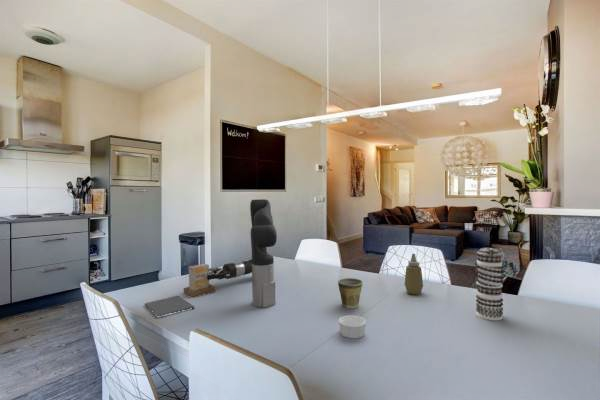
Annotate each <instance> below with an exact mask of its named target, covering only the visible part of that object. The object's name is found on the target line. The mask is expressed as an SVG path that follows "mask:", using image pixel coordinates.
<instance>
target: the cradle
mask: <svg viewBox="0 0 600 400" xmlns="http://www.w3.org/2000/svg"><path fill="white" fill-rule="evenodd" d="M184 293H185V294H184ZM208 293H209V294H212V293H213V294H214V293H216V286H214V285H212V284H210V283H209V288H204V289H200V290H196V291H191V290H189V286H187V287H183V294H184V295H186V294H187V295H188V296H187V295H186V296H187V297H189V296H190V297H193V298H196V297H195V296H197V297H200V296H199V295H201V296H204V295H203V294H205V295H208ZM190 297H189V298H190Z"/></svg>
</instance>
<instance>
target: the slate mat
mask: <svg viewBox="0 0 600 400" xmlns="http://www.w3.org/2000/svg"><path fill="white" fill-rule="evenodd" d="M145 305H146V306H147V307H148V308H149V309H150V310H151V311H153V313H155V314H156V315H157V316H162V315H165V314H169V313H174V312H178V311H182V310H187V309H190V308H194V309H195V305H193V304H192V303H190V302H188V301H187V300H186V299H184V298H183V297H181V296H180V295H175V296H170V297H166V298H162V299H157V300H153V301H149V302H145V303H144V306H145ZM146 306H145V307H146ZM147 307H146V308H147ZM148 308H147V309H148ZM149 309H148V310H149ZM150 310H149V311H150ZM151 311H150V312H151ZM187 311H188V310H187ZM153 313H152V314H153Z"/></svg>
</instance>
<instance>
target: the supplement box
mask: <svg viewBox="0 0 600 400" xmlns="http://www.w3.org/2000/svg"><path fill="white" fill-rule="evenodd" d="M209 269H210V264H207V263H201V264H195V265H192V266H191V265H190V266H188V287H189V290H191V291H196V290H200V289H204V288H209V284H210V280H207V275H209V272H210V271H209Z"/></svg>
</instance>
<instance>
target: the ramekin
mask: <svg viewBox="0 0 600 400" xmlns="http://www.w3.org/2000/svg"><path fill="white" fill-rule="evenodd" d="M366 323H367V321H366V319H364V318H363V317H361V316H357V315H343V316H341V317H340V318H339V319H338V324H339V332H340V334H341V335H342V336H343V337H345V338H347V339H360V338H363V337H364V336H365V333H366Z"/></svg>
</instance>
